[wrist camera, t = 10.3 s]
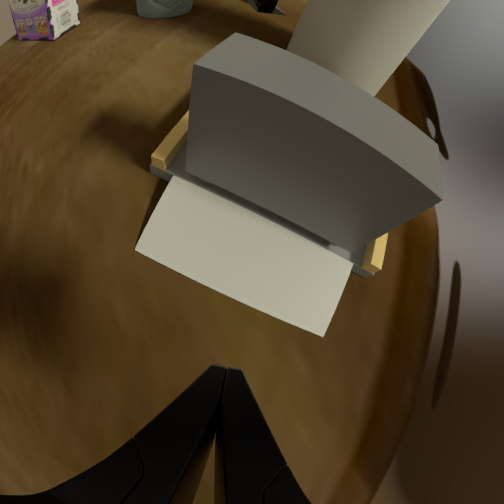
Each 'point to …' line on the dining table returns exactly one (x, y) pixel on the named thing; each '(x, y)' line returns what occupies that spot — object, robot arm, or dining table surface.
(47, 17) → the candy box
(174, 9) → the green embossed cup
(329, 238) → the gray and cream l-shape
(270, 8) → the black block on plate
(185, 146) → the loading dock
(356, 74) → the cylinder vase
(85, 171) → the dining table surface
